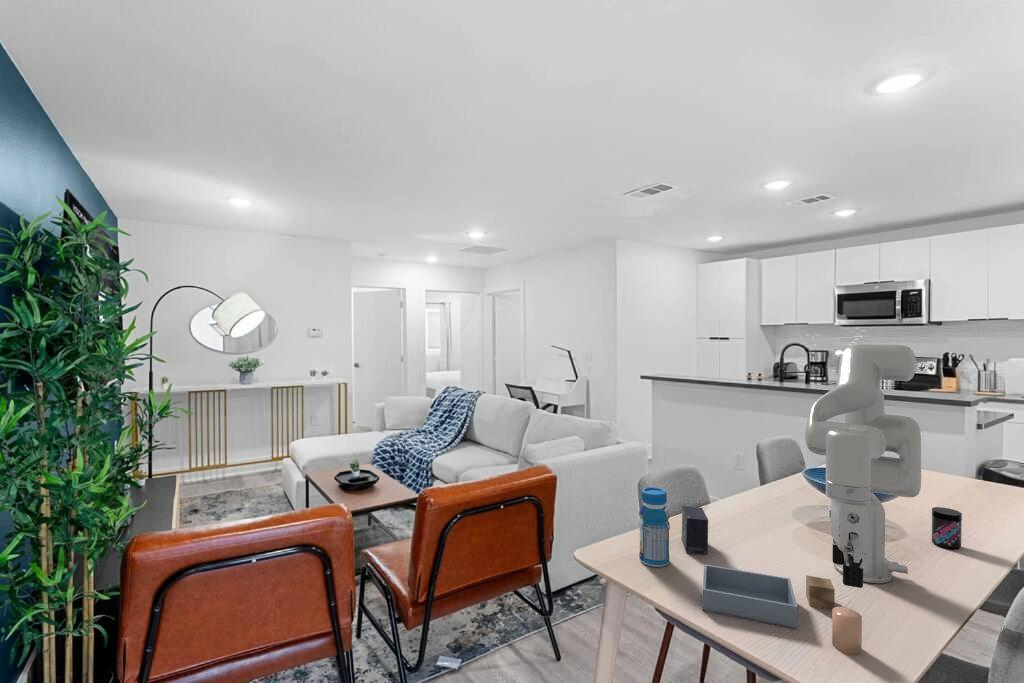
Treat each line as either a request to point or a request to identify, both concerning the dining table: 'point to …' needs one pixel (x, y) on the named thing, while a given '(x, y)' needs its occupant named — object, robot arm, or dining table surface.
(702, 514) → the small box
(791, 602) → the tote
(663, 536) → the beverage bottle
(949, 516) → the supplement container
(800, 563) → the dining table surface
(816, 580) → the walnut cube
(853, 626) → the tan rounded smooth part
